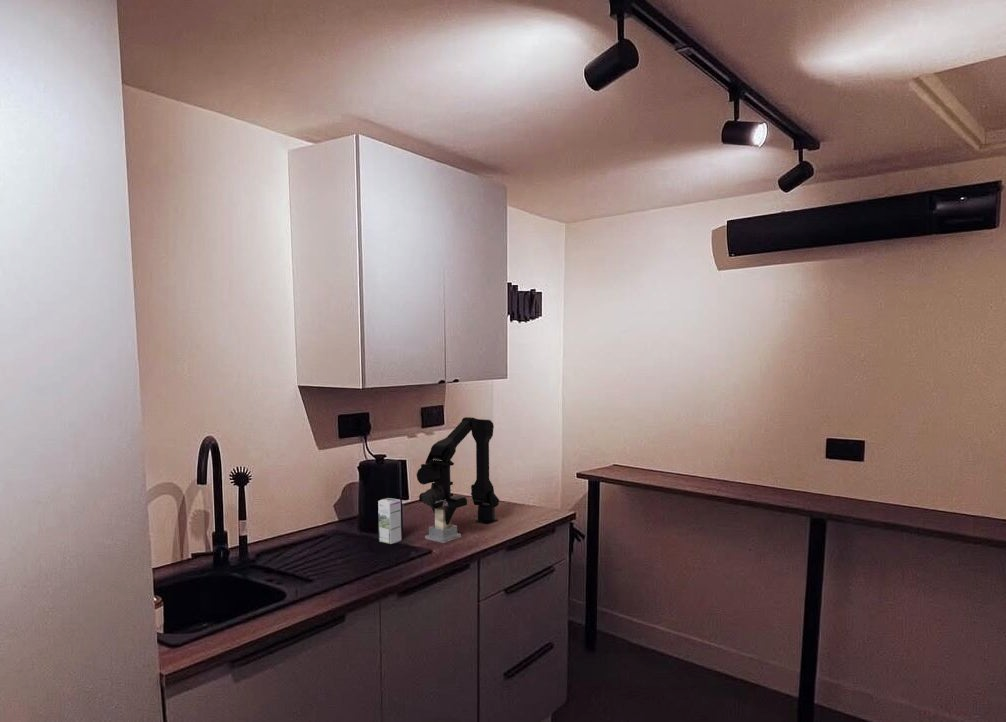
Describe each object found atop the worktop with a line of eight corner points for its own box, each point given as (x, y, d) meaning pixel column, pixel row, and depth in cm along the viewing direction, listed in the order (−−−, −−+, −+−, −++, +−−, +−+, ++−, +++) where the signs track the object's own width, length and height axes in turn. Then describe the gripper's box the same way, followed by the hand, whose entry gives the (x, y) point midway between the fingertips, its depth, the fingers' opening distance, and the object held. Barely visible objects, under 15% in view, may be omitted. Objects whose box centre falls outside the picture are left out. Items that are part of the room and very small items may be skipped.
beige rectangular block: (443, 528, 218) (442, 506, 218) (451, 530, 215) (450, 507, 215) (435, 531, 215) (434, 508, 215) (443, 532, 212) (442, 510, 212)
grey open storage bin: (443, 532, 221) (442, 521, 221) (461, 536, 216) (460, 525, 216) (425, 538, 214) (424, 527, 214) (443, 542, 209) (443, 531, 209)
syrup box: (402, 540, 212) (401, 499, 213) (389, 544, 208) (389, 502, 208) (390, 538, 216) (389, 497, 216) (378, 542, 211) (377, 500, 211)
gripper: (407, 480, 215) (408, 524, 215) (445, 486, 203) (446, 533, 203) (430, 475, 223) (430, 517, 223) (467, 481, 212) (468, 525, 212)
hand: (443, 523), depth 215 cm, fingers closed on beige rectangular block, 4 cm apart
